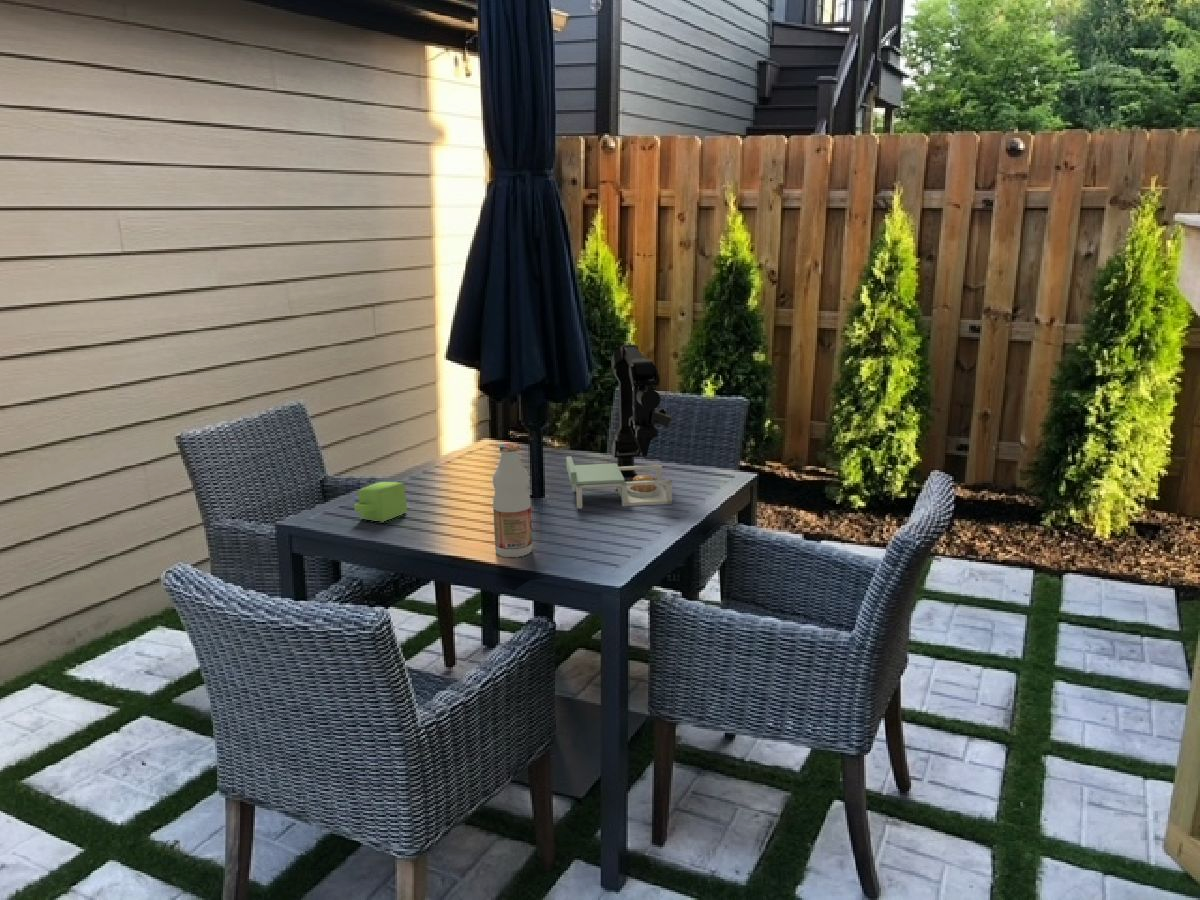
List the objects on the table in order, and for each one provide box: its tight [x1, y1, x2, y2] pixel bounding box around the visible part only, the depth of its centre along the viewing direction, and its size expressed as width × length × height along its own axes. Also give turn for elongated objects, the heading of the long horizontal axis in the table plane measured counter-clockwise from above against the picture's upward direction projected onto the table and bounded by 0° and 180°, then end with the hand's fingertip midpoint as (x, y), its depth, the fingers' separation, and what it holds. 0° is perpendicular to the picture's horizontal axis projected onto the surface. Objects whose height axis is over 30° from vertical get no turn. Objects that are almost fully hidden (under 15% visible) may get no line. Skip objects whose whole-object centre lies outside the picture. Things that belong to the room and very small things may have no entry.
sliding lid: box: [565, 455, 626, 485], centre depth 285 cm, size 19×16×4 cm
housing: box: [571, 464, 673, 509], centre depth 287 cm, size 19×28×7 cm
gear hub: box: [632, 474, 655, 492], centre depth 288 cm, size 6×6×5 cm
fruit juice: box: [492, 442, 533, 558], centre depth 239 cm, size 9×9×28 cm
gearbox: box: [353, 481, 408, 523], centre depth 273 cm, size 18×10×10 cm, turn 153°
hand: (643, 454), depth 286 cm, fingers open, 5 cm apart
